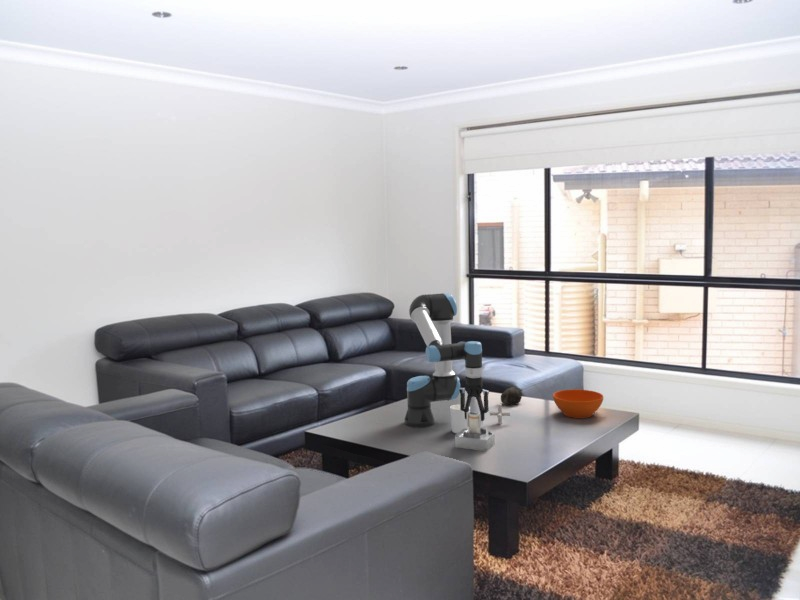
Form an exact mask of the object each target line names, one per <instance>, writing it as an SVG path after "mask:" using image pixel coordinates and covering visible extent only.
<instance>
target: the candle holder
mask: <svg viewBox="0 0 800 600" xmlns="http://www.w3.org/2000/svg"><path fill="white" fill-rule="evenodd" d="M449 411H450V412H449V413H450V424H451V432H452V433H453V434H457V433H458V432H460V431H461V430H462V429H464V428H465V429H468V430H469V427H467V419H465V412H464V411H461V410H460V403H459V404H458V403H457V404H452V405H450V406H449ZM469 411H470V412H471V405H470V406H469Z"/></svg>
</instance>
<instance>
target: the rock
mask: <svg viewBox="0 0 800 600" xmlns="http://www.w3.org/2000/svg"><path fill="white" fill-rule="evenodd" d="M522 397H523V392H522V390H520V389H519V387H517V386H510V387H507V388H506V389H505V390H504V391H503V392H502V393H501V395H500V401H501V404H504V405H506V406H511V405H517V404H519V403H521V400H522Z"/></svg>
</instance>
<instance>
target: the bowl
mask: <svg viewBox="0 0 800 600" xmlns="http://www.w3.org/2000/svg"><path fill="white" fill-rule="evenodd" d="M552 398H553V401H554V404H555V405H556V407H557V408H558V410H560V411H561V412H562V413H563V414H564V416H565V417H570V418H574V419H585V418H590V417H592V416H593V415H594V414H595V413H596V412H597V411H599V408H600V407H601V405H602V403H603V402H604V394H602V393H600V392H597V391H595V390H594V391H593V390H588V389H577V388H576V389H564V390H558V391H555V392H554V393H553V394H552Z"/></svg>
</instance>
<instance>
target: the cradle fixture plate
mask: <svg viewBox="0 0 800 600" xmlns="http://www.w3.org/2000/svg"><path fill="white" fill-rule="evenodd" d="M480 433H481V435H480ZM480 433H469V430H468V429H465V428H464V429H462V430H461V431H460V432H458V433H455V435H454V448H458V449H467V450H474V451H475V450H476V451H482V452H483V451H484V452H488V451H489V450H490V449H491V448H492V447H493V446H494V445H495V443H496V440H495V439H496V437H495V435H496V434H495V432H493V431H491V430H489V431H487V429H486V428H485V427H482V428H480Z"/></svg>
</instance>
